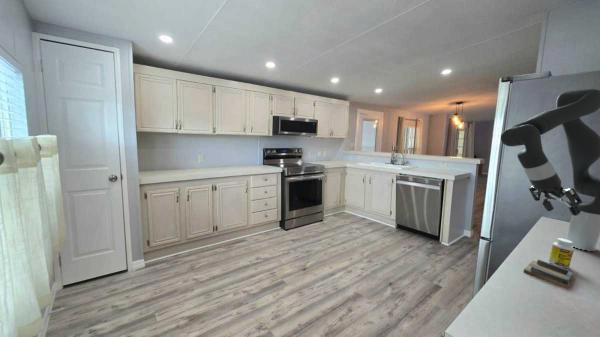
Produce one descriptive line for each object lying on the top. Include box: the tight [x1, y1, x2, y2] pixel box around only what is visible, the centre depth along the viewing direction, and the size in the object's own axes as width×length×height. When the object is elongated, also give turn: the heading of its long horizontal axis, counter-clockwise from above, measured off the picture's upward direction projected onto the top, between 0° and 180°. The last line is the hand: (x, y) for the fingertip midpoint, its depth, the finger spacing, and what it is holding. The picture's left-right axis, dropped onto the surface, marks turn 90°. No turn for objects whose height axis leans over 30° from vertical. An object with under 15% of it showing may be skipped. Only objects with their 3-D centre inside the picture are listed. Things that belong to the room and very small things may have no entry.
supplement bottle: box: [548, 237, 575, 269], centre depth 92 cm, size 6×6×10 cm
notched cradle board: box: [523, 258, 576, 290], centre depth 85 cm, size 12×11×2 cm
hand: (563, 212), depth 88 cm, fingers open, 8 cm apart
